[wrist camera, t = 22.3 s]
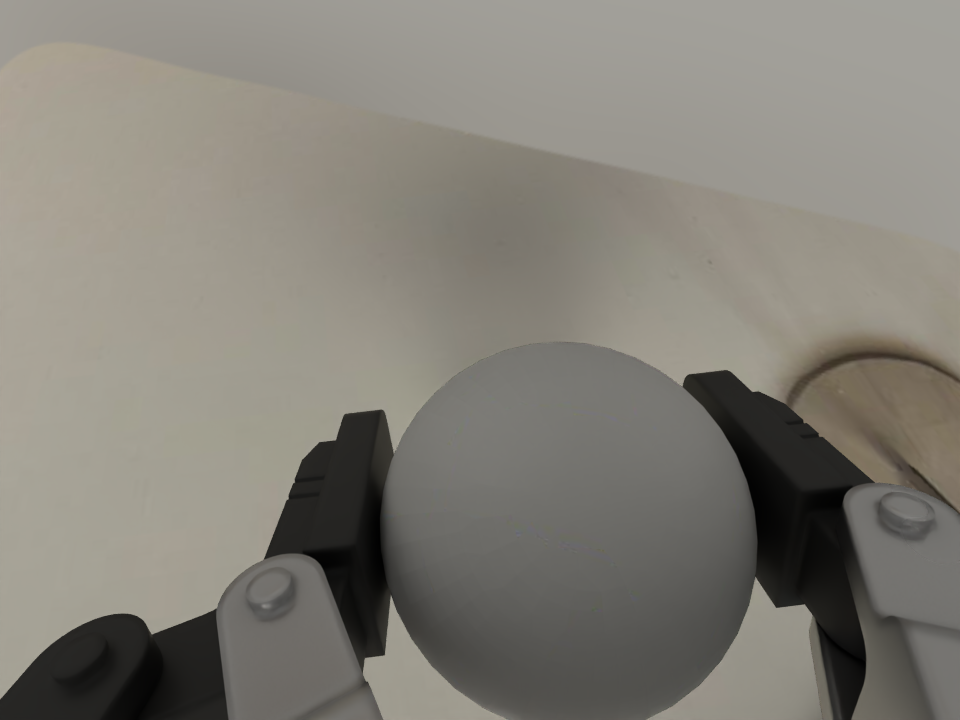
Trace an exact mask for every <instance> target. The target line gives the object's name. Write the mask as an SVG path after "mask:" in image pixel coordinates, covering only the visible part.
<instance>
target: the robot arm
mask: <svg viewBox="0 0 960 720" xmlns="http://www.w3.org/2000/svg"><path fill="white" fill-rule="evenodd" d="M683 388H684V389H685V390H686V391H687V392H688V393H689V394H691V395H692V396H693V397H694V398H695V399H696V400H697V401H698V402H699V403H700V404H701V405H702V406H703V407H704V408H705V409H706V411H707V412H708V413H709V414H710V416H711V417H712V418H713V420H714V421H715V422H716V423H717V425H718V426H719V427H720V428H721V430H722V431H723V433H724V435H725V437H726V438H727V440H728V442H729V443H730V445H731V447H732V448H733V450H734V452H735V454H736V456H737V458H738V461H739V463H740V465H741V468H742V470H743V473H744V475H745V478H746V480H747V483H748V487H749V491H750V495H751V499H752V503H753V507H754V511H755V520H756V530H757V540H758V544H757V563H756V575H755V577H756V578H757V580H758V581H759V583H760V584H761V586H762V587H763V589H764V590H765V592H766V593H767V595H768V596H769V598H770V599H771V601H772V602H773V604H774V605H775V607H776V608H779V607H787V606H795V605H803V604H805V605H806V607H807V608H808V609H809V611H810V612H811V613H812V615H813V617H812V621H811V625H810V629H809V638H810V644H811V650H812V656H813V663H814V669H815V675H816V681H817V687H818V693H819V699H820V706H821V712H822V718H823V720H960V515H959V514H958V513H957V512H956V511H955V510H953V509H952V508H951V507H949V506H948V505H946V504H945V503H943V502H942V501H940V500H938V499H936V498H934V497H932V496H930V495H928V494H925V493H923V492H920V491H917V490H915V489H912V488H908V487H904V486H900V485H895V484H888V483H875V482H873V481H872V480H871V479H870V478H869V477H868V476H867V475H865V474H864V473H863V472H862V471H861V470H860V469H859V468H857V467H856V466H855V465H854V464H853V463H852V462H851V461H850V460H848V459H847V458H846V457H845V456H844V455H843V454H842V453H840V452H839V451H838V450H837V449H836V448H835V447H834V446H832V445H831V444H830V443H829V442H828V441H827V440H826V439H824V438H823V437H819V435H818V434H819V433H818V432H816V431H815V430H814V429H813V428H812V427H811V426H810V425H808V424H807V423H803V419H802V418H800V417H799V416H798V415H797V414H796V413H795V412H794V411H792V410H791V409H790V408H789V407H788V406H787V405H786V404H784V403H782V402H780V401H778V400H776V399H774V398H771V397H769V396H767V395H765V394H763V393H761V392H752V391H751V390H750V389H749V388H748V387H746V386H745V385H744V384H743V383H742V382H741V381H740V380H739V379H738V378H737V377H736V376H735V375H734V374H732V373H731V372H730V371H728V370H723V371H714V372H706V373H697V374H689V375H687V376H686V378H685V380H684V383H683ZM393 456H394V453H393V448H392V443H391V438H390V433H389V428H388V423H387V419H386V415H385V412H384V411H383V410H374V411H366V412H357V413H349V414H345V415H344V416H343V419H342V422H341V426H340V429H339V432H338V435H337V439H336V440H335V441H327V442H319V443H318V444H317V445H316V446H315V447H314V448H313V449H312V450H311V452H310V453H309V454H308V455H307V456H306V457H305V458H304V459H303V460H302V462H301V464H300V467H299V470H298V472H297V475H296V477H295V483H293V485H292V488H291V490H290V493H289V500H287V501H286V503H285V506H284V509H283V511H282V514H281V516H280V519H279V522H278V524H277V527H276V529H275V532H274V535H273V537H272V540H271V542H270V545H269V548H268V550H267V553H266V555H265V558H264V560H263V561H261V562H259V563H256V564H255V565H253V566H251V567H250V568H248V569H247V570H245V571H244V572H243V573H241V574H240V575H239V576H238V577H237V578H236V579H235V580H234V581H233V582H232V583H231V584H230V585H229V586H228V587H227V589H226V590H225V592H224V593H223V595H222V596H221V599H220V601H219V603H218V607H217V609H215V610H213V611H211V612H209V613H207V614H204V615H202V616H199V617H197V618H194V619H192V620H189V621H186V622H184V623H181V624H178V625H176V626H173V627H171V628H168V629H165V630H163V631H160V632H158V633H155V634H151V633H150V631H149V629H148V627H147V625H146V624H145V623H144V621H143V620H142V619H140V618H139V617H137V616H134V615H131V614H113V615H108V616H103V617H100V618H97V619H94V620H92V621H90V622H87V623H85V624H83V625H81V626H79V627H77V628H75V629H73V630H72V631H70V632H68V633H67V634H65V635H64V636H62V637H61V638H59V639H58V640H57V641H55V642H54V643H53V644H51V645H50V646H49V647H48V648H47V649H46V650H45V651H43V652H42V653H41V654H40V655H39V656H38V657H37V658H36V659H35V661H34V662H33V663H32V664H31V665H30V666H29V667H28V668H27V669H26V671H25V672H24V673H23V674H22V675H21V676H20V678H19V679H18V680H17V681H16V682H15V683H14V684H13V686H12V687H11V688H10V689H9V690H8V691H7V693H6V694H5V695H4V696H3V697H2V698H1V699H0V720H383V718H382V716H381V713H380V710H379V708H378V705H377V703H376V700H375V698H374V695H373V693H372V690H371V688H370V686H369V684H368V682H366V681H365V679H364V676H363V667H364V660H365V658H368V657H376V656H383V655H385V647H386V637H387V627H388V617H389V607H390V597H391V593H390V590H389V587H388V584H387V581H386V576H385V571H384V565H383V560H382V554H381V542H380V513H381V505H382V497H383V489H384V485H385V482H386V478H387V475H388V471H389V467H390V464H391V461H392V458H393Z"/></svg>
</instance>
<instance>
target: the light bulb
mask: <svg viewBox="0 0 960 720" xmlns="http://www.w3.org/2000/svg"><path fill="white" fill-rule="evenodd" d="M380 542H381V554H382V560H383V565H384V571H385V576H386V581H387V584H388V587H389V590H390V593H391V595H392V598H393V601H394V604H395V607H396V610H397V612H398V614H399V616H400V618H401V620H402V621H403V623H404V625H405V627H406V629H407V631H408V633H409V635H410V637H411V639H412V640H413V641H414V643H415V644H416V645H417V647H418V648H419V649H420V651H421V652H422V653H423V655H424V656H425V657H426V659H427V660H428V662H429V663H430V664H431V666H432V667H433V668H435V669H436V670H437V671H438V672H439V673H440V674H441V675H442V676H443V677H444V678H445V679H446V680H447V681H448V682H449V683H450V684H451V685H452V686H453V687H454V688H455V689H456V690H458V691H459V692H461V693H462V694H464V695H465V696H467V697H468V698H469V699H471V700H472V701H474V702H475V703H477V704H478V705H480V706H481V707H482V708H484V709H486V710H489V711H491V712H493V713H495V714H497V715H499V716H501V717H504V718H506V719H508V720H646V719H648V718H650V717H652V716H654V715H656V714H658V713H660V712H662V711H664V710H666V709H667V708H669V707H671V706H673V705H674V704H676V703H677V702H678V701H680V700H681V699H682V698H683V697H685V696H686V695H687V694H689V693H690V692H691V691H692V690H694V689H695V688H696V687H698V686H699V685H700V684H701V683H702V682H703V681H704V679H705V678H706V677H707V676H708V675H709V674H710V673H711V672H712V670H713V669H714V668H715V667H716V666H717V665H718V664H719V663H720V661H721V660H722V658H723V657H724V655H725V653H726V652H727V650H728V649H729V647H730V645H731V644H732V642H733V640H734V639H735V637H736V636H737V634H738V631H739V629H740V626H741V624H742V621H743V619H744V616H745V614H746V611H747V609H748V606H749V603H750V598H751V594H752V589H753V584H754V580H755V575H756V563H757V544H758V540H757V530H756V520H755V511H754V507H753V503H752V499H751V495H750V491H749V487H748V483H747V480H746V478H745V475H744V473H743V470H742V468H741V465H740V463H739V461H738V458H737V456H736V454H735V452H734V450H733V448H732V447H731V445H730V443H729V442H728V440H727V438H726V437H725V435H724V433H723V431H722V430H721V428H720V427H719V426H718V425H717V423H716V422H715V421H714V420H713V418H712V417H711V416H710V414H709V413H708V412H707V411H706V409H705V408H704V407H703V406H702V405H701V404H700V403H699V402H698V401H697V400H696V399H695V398H694V397H693V396H692V395H691V394H689V393H688V392H687V391H686V390H685V389H684V388H683V387H682V386H681V385H679V384H678V383H676V382H675V381H674V380H672V379H671V378H669V377H668V376H667V375H665V374H664V373H662V372H661V371H660V370H658V369H656V368H654V367H652V366H650V365H648V364H646V363H644V362H642V361H641V360H639V359H637V358H635V357H632V356H629V355H626V354H624V353H621V352H618V351H615V350H612V349H610V348H605V347H600V346H595V345H590V344H585V343H571V342H549V343H538V344H529V345H525V346H521V347H516V348H512V349H508V350H504V351H502V352H499V353H497V354H494V355H492V356H490V357H487V358H485V359H482V360H480V361H478V362H477V363H475V364H473V365H472V366H470V367H468V368H467V369H465V370H463V371H462V372H460V373H458V374H457V375H456V376H454V377H453V378H452V379H451V380H450V381H448V382H447V383H446V384H445V385H444V386H442V387H441V388H440V389H439V390H438V391H436V392H435V393H434V395H433V396H432V397H431V398H430V399H429V400H428V401H427V402H426V404H425V405H424V406H423V407H422V408H421V409H420V410H419V411H418V413H417V414H416V416H415V417H414V419H413V420H412V422H411V424H410V425H409V427H408V428H407V430H406V431H405V433H404V434H403V436H402V438H401V441H400V443H399V445H398V447H397V449H396V452H395V454H394V456H393V458H392V461H391V464H390V467H389V471H388V475H387V478H386V482H385V485H384V489H383V497H382V505H381V513H380Z"/></svg>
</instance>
